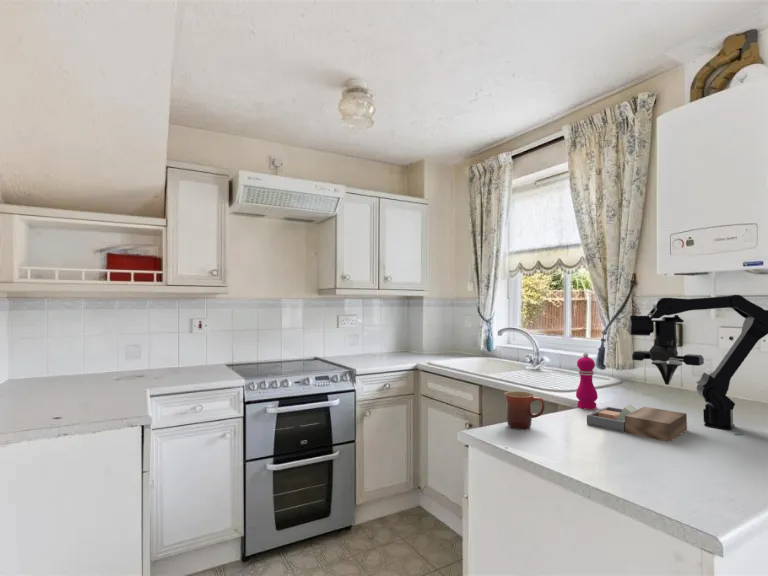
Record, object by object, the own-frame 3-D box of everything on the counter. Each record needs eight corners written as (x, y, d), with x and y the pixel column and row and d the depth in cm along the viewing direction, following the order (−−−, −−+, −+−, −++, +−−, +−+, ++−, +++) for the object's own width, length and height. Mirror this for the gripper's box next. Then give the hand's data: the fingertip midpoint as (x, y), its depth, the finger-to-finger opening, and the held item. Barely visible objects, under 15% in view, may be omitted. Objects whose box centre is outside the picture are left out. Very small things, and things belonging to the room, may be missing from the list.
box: (643, 422, 138) (643, 412, 138) (624, 432, 127) (623, 422, 127) (607, 415, 146) (607, 406, 146) (586, 424, 136) (586, 415, 136)
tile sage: (638, 410, 134) (630, 404, 136) (632, 412, 131) (624, 407, 133) (629, 421, 136) (621, 416, 138) (622, 424, 133) (615, 419, 135)
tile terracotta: (605, 409, 142) (605, 417, 141) (598, 412, 138) (598, 420, 138) (621, 412, 138) (621, 420, 138) (614, 415, 135) (614, 423, 134)
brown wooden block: (687, 430, 129) (686, 413, 129) (669, 442, 118) (669, 423, 119) (644, 422, 138) (644, 406, 138) (625, 432, 127) (624, 415, 127)
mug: (503, 429, 131) (503, 396, 132) (505, 422, 140) (504, 390, 140) (545, 433, 127) (544, 398, 128) (544, 425, 136) (544, 392, 136)
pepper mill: (600, 410, 153) (599, 354, 154) (578, 409, 155) (577, 354, 155) (594, 405, 160) (593, 351, 161) (574, 404, 162) (572, 351, 162)
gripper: (625, 336, 140) (626, 383, 140) (693, 339, 126) (694, 392, 126) (637, 334, 148) (638, 379, 147) (703, 337, 133) (705, 387, 133)
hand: (667, 384), depth 138 cm, fingers closed
